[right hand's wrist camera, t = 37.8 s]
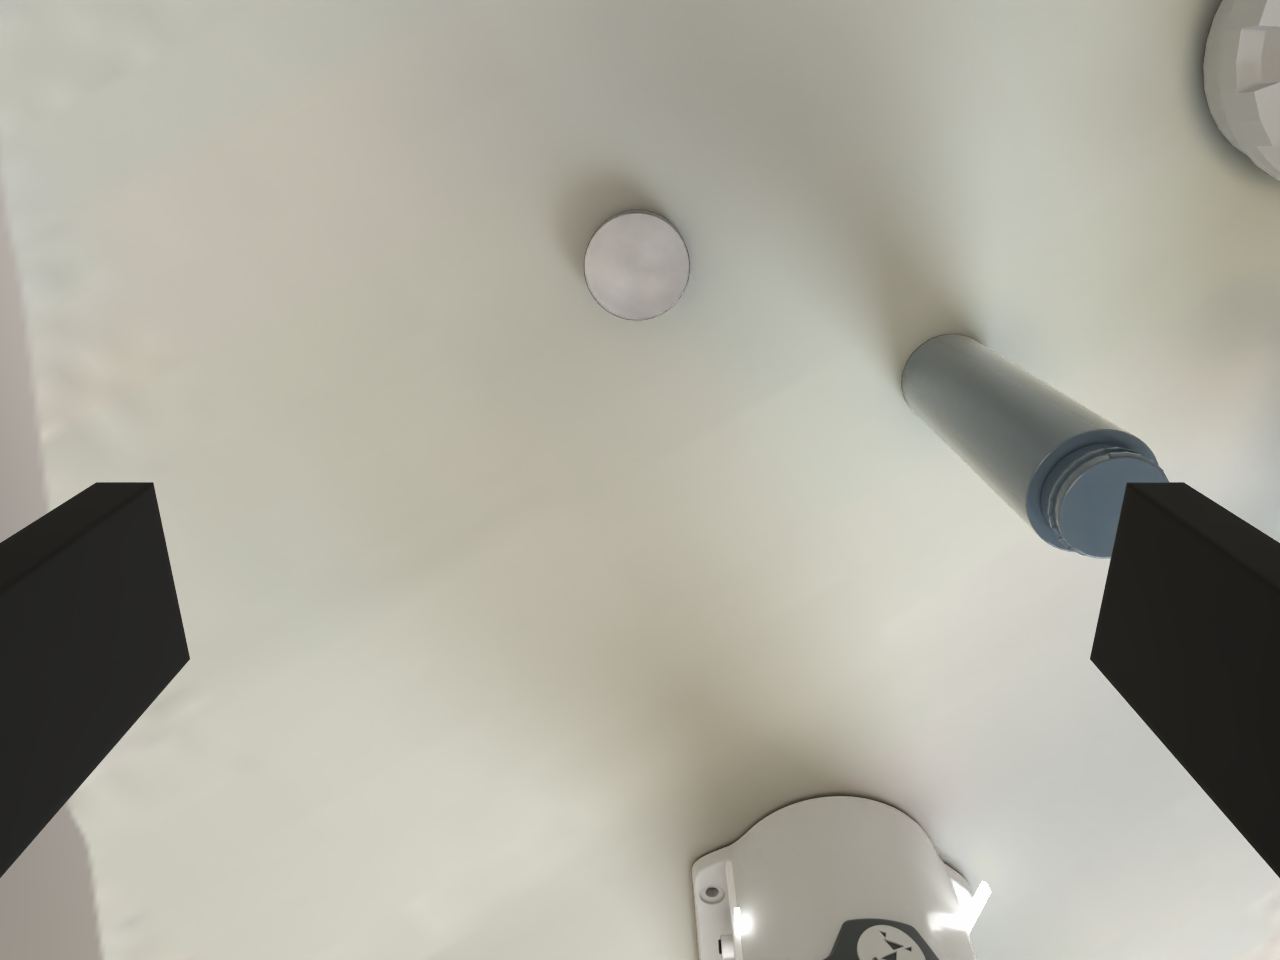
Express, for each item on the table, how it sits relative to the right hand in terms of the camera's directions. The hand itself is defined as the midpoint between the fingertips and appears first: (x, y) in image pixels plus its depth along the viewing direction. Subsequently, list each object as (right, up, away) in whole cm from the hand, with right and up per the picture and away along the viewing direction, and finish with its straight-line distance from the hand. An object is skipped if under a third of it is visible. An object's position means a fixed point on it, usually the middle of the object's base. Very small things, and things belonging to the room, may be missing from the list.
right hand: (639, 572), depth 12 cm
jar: (+16, +7, +36) cm, 40 cm away
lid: (0, +12, +32) cm, 34 cm away
